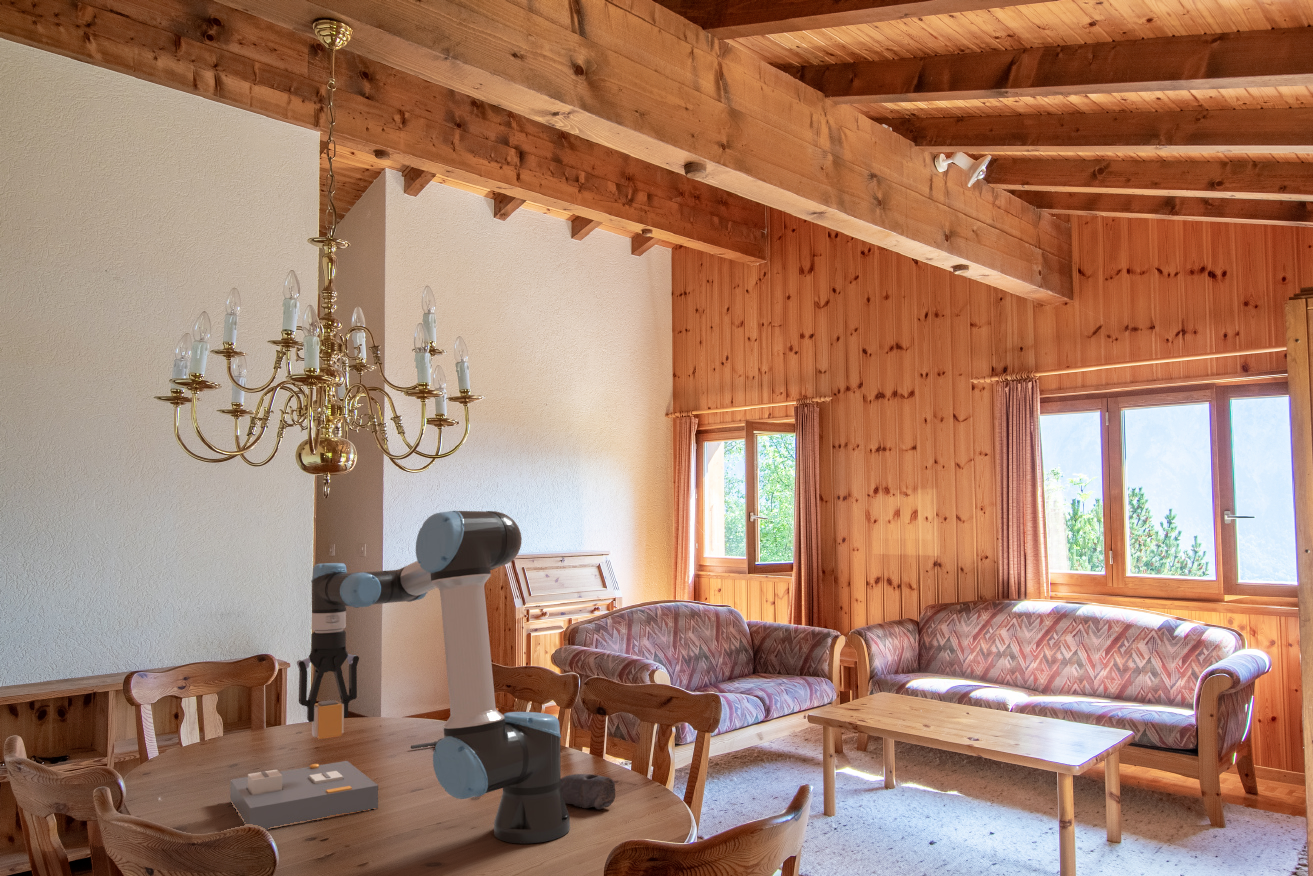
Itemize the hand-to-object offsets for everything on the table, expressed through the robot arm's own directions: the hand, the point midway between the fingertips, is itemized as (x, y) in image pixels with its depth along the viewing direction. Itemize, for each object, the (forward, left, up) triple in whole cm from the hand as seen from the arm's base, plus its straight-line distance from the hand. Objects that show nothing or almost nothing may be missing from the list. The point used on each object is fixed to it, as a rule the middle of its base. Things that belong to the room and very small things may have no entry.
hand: (327, 733), depth 207 cm
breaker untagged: (0, +13, -12) cm, 18 cm away
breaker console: (0, +5, -15) cm, 16 cm away
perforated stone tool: (-39, -45, -15) cm, 61 cm away
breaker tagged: (0, 0, -14) cm, 14 cm away
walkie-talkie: (+29, -40, -15) cm, 52 cm away
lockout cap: (0, 0, 0) cm, 0 cm away
